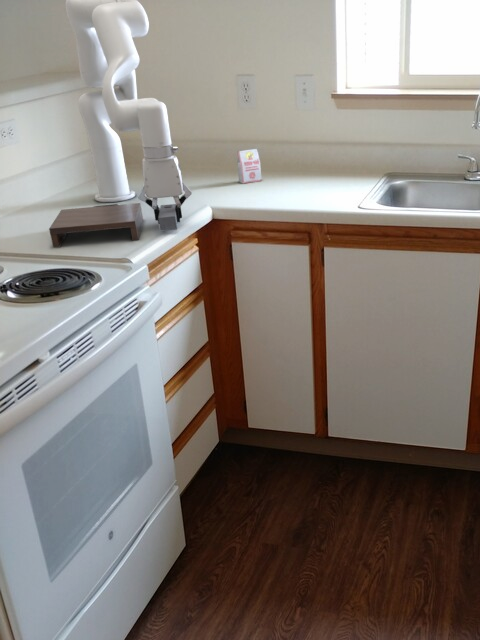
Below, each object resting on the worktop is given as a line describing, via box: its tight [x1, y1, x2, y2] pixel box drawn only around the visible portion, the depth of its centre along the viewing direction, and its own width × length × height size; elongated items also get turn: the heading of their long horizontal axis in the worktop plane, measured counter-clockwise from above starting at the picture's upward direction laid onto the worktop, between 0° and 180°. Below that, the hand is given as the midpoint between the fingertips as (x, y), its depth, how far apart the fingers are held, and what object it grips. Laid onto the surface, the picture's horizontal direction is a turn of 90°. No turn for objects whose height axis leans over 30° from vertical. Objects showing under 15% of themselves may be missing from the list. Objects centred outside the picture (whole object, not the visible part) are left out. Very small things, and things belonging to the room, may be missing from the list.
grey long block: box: [157, 203, 179, 232], centre depth 208 cm, size 14×4×4 cm, turn 8°
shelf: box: [48, 202, 144, 248], centre depth 207 cm, size 20×22×5 cm
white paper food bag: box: [236, 148, 262, 185], centre depth 252 cm, size 4×7×10 cm, turn 116°
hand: (169, 221), depth 209 cm, fingers closed on grey long block, 4 cm apart
